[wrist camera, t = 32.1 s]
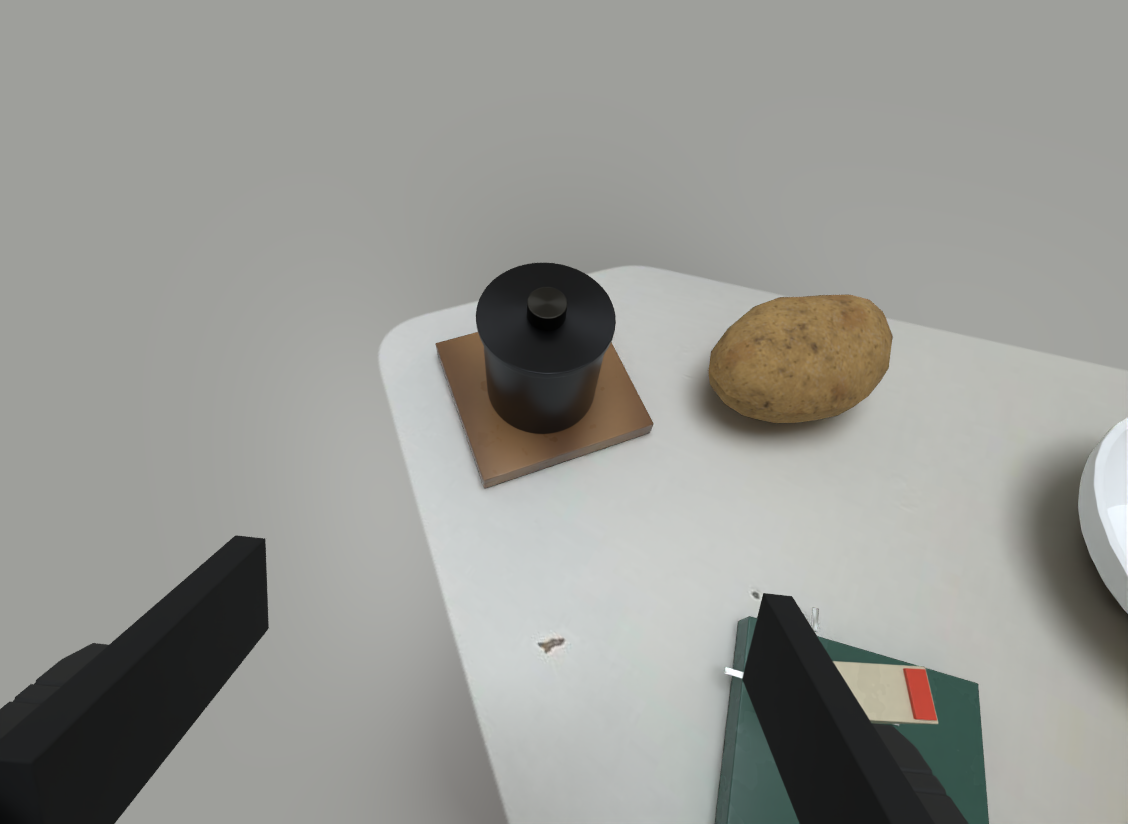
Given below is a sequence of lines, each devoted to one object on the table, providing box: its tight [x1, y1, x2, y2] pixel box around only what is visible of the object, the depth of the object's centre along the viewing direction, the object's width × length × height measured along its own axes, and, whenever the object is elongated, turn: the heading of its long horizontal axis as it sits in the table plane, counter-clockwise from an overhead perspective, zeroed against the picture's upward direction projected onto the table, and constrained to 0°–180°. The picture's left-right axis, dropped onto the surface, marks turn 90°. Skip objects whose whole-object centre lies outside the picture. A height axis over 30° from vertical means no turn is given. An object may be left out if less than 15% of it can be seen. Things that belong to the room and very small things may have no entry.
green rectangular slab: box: [715, 607, 989, 824], centre depth 31 cm, size 15×20×2 cm
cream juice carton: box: [833, 661, 938, 724], centre depth 30 cm, size 6×2×7 cm, turn 87°
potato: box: [709, 295, 893, 423], centre depth 42 cm, size 10×14×8 cm
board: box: [436, 332, 653, 488], centre depth 43 cm, size 13×12×2 cm
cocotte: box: [476, 263, 616, 434], centre depth 38 cm, size 9×9×10 cm
